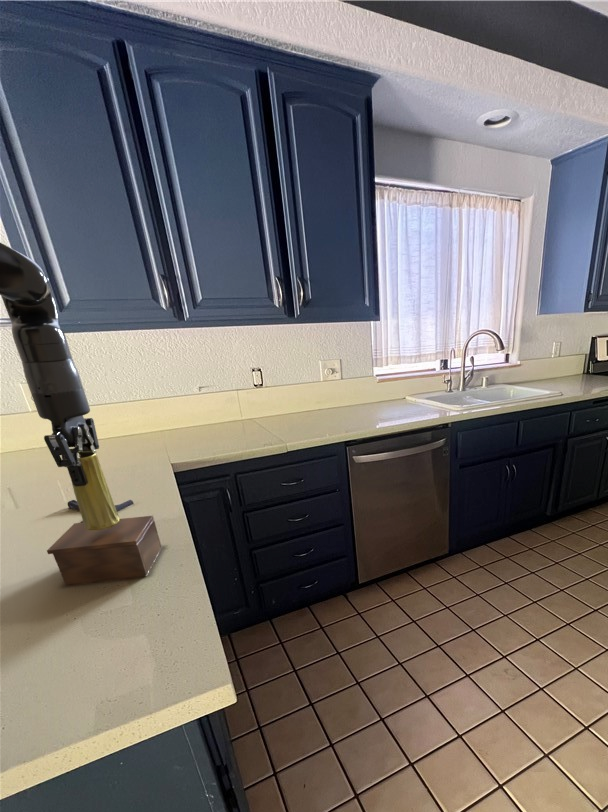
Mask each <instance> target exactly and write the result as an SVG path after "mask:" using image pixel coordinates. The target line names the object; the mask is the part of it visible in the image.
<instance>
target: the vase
mask: <svg viewBox="0 0 608 812" xmlns="http://www.w3.org/2000/svg"><path fill="white" fill-rule="evenodd" d="M72 455H73V457H74V454H72ZM80 457H81V465H82V466H83V469H84V472H85V475H86V478H87V481H88V484H87V485H85V486H74V485H73V483H72V480H71V477H70V474H69V471H68V470H67V472H68V475H69V478H70V482H71V485H72V489H73V493H74V495H75V500H76V501H77V503H78V506H79V509H80V510H79V512H80V515H81V518H82V521H84V527H85V529H87V530H102V529H106V528H109V527H112V526H114V525H116V524H117V523H118V522H119V521H120V519H121V518H120V516H119V514H118V511H117V510H116V508H115V505H116V504H115V503H114V500H113V497H112V494H111V491H110V488H109V486H108V483H107V479H106V477H105V475H104V472H103V469H102V466H101V462H100V460H99V457H98V453H97V451H96V452H94V451H83V452H82V453H81V454H80Z"/></svg>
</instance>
